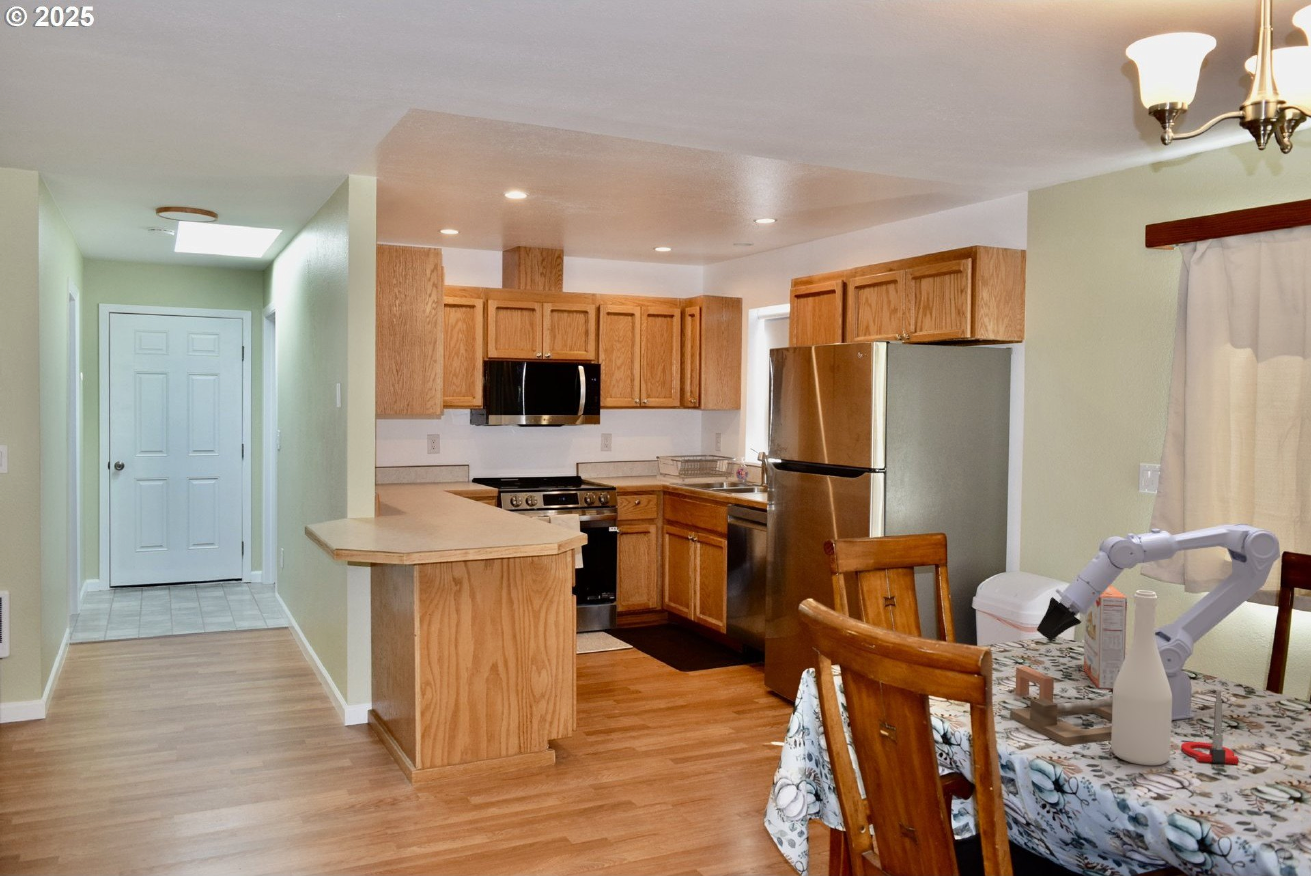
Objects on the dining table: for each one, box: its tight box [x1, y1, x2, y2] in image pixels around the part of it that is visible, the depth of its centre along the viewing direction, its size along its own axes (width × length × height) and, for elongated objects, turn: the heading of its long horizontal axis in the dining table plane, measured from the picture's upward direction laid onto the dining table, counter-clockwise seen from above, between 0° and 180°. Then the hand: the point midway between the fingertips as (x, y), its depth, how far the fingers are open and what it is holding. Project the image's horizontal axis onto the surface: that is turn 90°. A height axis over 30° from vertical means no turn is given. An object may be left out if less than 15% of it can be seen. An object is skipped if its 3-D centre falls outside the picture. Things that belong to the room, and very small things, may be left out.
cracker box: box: [1083, 584, 1128, 690], centre depth 222 cm, size 14×6×21 cm, turn 168°
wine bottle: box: [1110, 589, 1172, 766], centre depth 176 cm, size 10×10×30 cm
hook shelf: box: [1009, 697, 1113, 746], centre depth 193 cm, size 24×16×6 cm, turn 107°
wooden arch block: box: [1014, 665, 1055, 703], centre depth 209 cm, size 2×9×6 cm, turn 17°
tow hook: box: [1180, 689, 1240, 765], centre depth 178 cm, size 8×13×9 cm
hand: (1043, 635), depth 201 cm, fingers open, 7 cm apart
